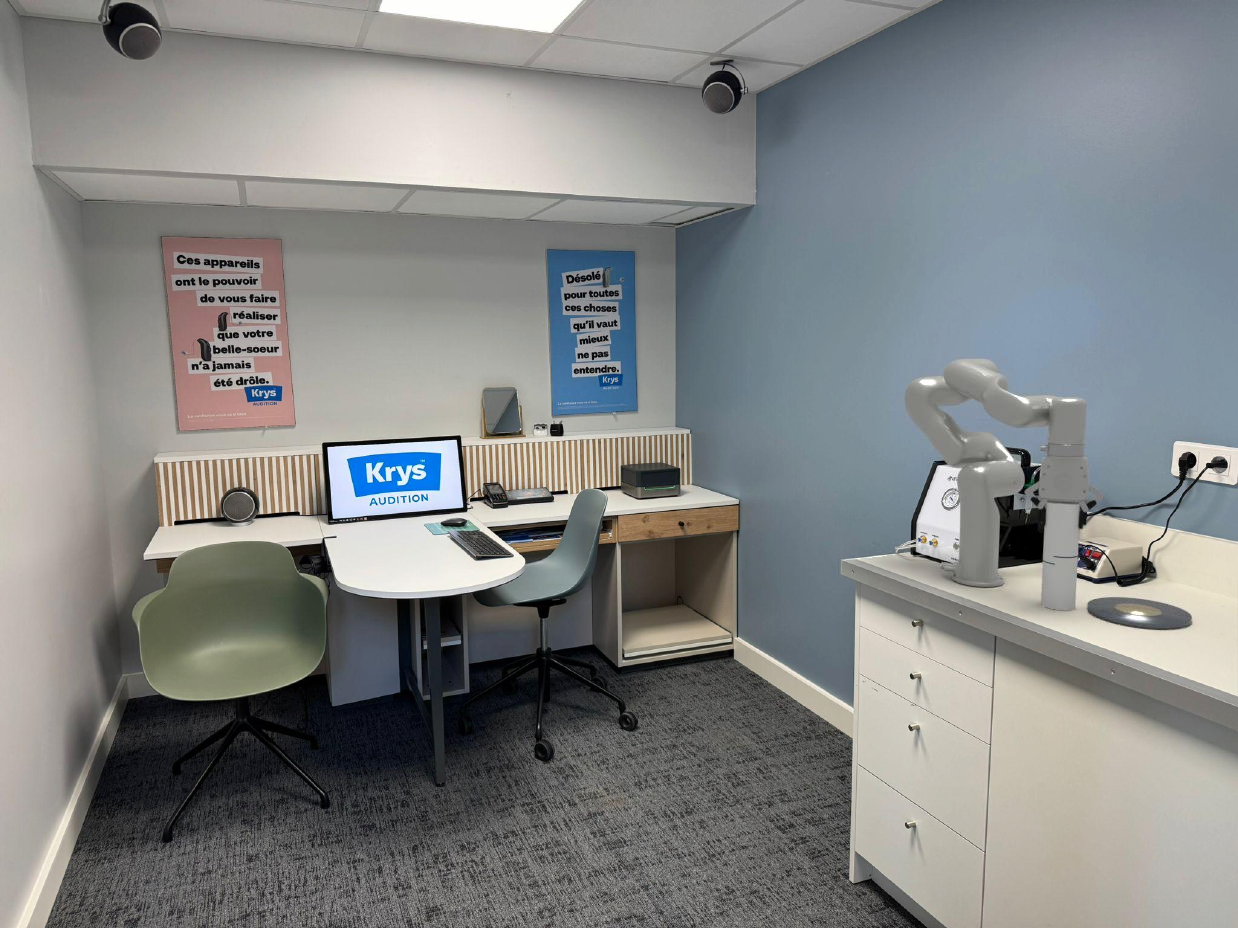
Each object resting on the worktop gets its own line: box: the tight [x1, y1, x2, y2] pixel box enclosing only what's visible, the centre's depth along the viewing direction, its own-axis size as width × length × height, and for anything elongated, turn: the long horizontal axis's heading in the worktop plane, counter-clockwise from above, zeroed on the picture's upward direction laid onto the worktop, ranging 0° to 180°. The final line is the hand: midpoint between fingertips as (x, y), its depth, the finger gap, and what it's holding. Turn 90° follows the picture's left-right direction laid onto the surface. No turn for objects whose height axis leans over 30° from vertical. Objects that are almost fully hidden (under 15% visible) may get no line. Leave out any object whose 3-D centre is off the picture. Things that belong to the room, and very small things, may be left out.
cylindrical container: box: [1040, 500, 1081, 611], centre depth 191 cm, size 7×7×25 cm
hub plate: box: [1086, 596, 1193, 631], centre depth 185 cm, size 20×20×1 cm
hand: (1061, 525), depth 190 cm, fingers closed on cylindrical container, 7 cm apart
